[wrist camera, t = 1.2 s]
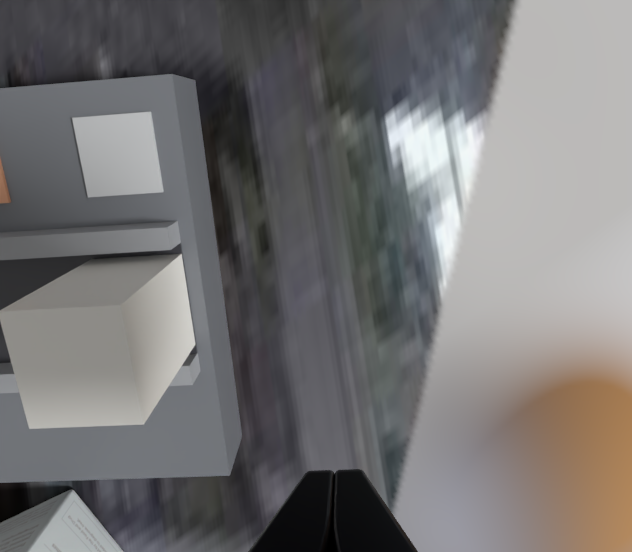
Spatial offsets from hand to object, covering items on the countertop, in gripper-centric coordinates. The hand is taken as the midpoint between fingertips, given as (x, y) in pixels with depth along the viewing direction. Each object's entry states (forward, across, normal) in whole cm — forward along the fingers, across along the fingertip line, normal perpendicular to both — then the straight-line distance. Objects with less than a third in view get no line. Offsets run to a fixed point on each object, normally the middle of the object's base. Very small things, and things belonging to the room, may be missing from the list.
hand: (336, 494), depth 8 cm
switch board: (+12, +9, 0) cm, 15 cm away
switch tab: (+9, +7, 0) cm, 11 cm away
